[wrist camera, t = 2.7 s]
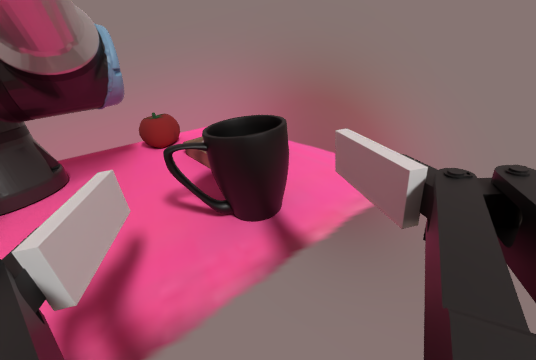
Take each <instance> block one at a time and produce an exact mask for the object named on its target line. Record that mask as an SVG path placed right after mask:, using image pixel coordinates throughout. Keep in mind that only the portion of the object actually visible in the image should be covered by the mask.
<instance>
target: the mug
mask: <svg viewBox="0 0 536 360" xmlns="http://www.w3.org/2000/svg"><path fill="white" fill-rule="evenodd" d="M202 136H203V140H204V142H193V143H183V144H177V145H173V146H170V147H168V148H166V149H165V150H164V152H163V154H164V160H165V163H166V165H167V168H168V170H169V171H170V173H171V174H172V175H173V176H174V177H175V178H176V179H177V180H178V181H179V182H180V183H181V184H183V185H184V186H185V187H186V188H187V189H189V190H190V191H191V192H192V193H193V194H195V195H196V196H197V197H198V198H200V199H201V200H202V201H203V202H204V203H206V204H207V205H208V206H210V207H211V208H212V209H214V210H216V211H217V212H220V213H223V214H230V213H234V215H235V216H236V217H237V218H239V219H241V220H244V221H261V220H265V219H268V218H270V217H272V216H274V215H275V214H276V213H278V211H279V210H280V209H281V206H282V199H283V195H284V191H285V186H286V181H287V174H288V164H289V148H288V135H287V123H286V120H285V119H284V118H282V117H279V116H274V115H252V116H244V117H237V118H232V119H228V120H224V121H220V122H218V123H215V124H212V125H210V126H208V127H207V128H205V129H204V130H203V133H202ZM183 149H197V150H203V151H206V153H207V157H208V161H209V165H210V167H211V170H212V173H213V175H214V178H215V180H216V182H217V184H218V186H219V188H220V190H221V192H222V194H223V196H224V197H225V199H226V200H223V201H220V200H216V199H213V198H211V197H210V196H208V195H207V194H205V193H204V192H203V191H201V190H200V189H199V188H198V187H196V186H195V185H194V184H193V183H192V182H191V181H190V180H189V179H188V178H186V177H185V175H184V174H183V173H182V172H181V171H180V170H179V169H178V167H177V166H176V164H175V162H174V160H173V157H172V154H173V153H174V152H175V151H178V150H183Z"/></svg>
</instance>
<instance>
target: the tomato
mask: <svg viewBox="0 0 536 360" xmlns="http://www.w3.org/2000/svg"><path fill="white" fill-rule="evenodd" d="M139 133H140V136H141V138H142V139H143V141H145V142H146V143H147V144H148V145H150V146H153V147H157V148H164V147H167V146H169V145H171V144H173V143H174V142H175V141H176V140H177V139H178V138H179V133H180V127H179V125H178V123H177V121H176V120H175V119H174V118H173V117H172V116H170V115H168V114H160V115H157V116H156V115H155V113H152V116H151V117H147V118H144V119H143V120H142V121H141V124H140V127H139Z"/></svg>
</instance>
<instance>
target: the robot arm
mask: <svg viewBox="0 0 536 360" xmlns="http://www.w3.org/2000/svg"><path fill="white" fill-rule="evenodd" d="M123 97H124V85H123V79H122V74H121V72H120V66H119V61H118V57H117V54H116V51H115V48H114V44H113V42H112V39H111V37H110V35H109V33H108V31H107V29H106V28H105V27H103V26H101V25H96V24H94V23H93V22H92V20H91V19H90V18H89V16H88V15H87V14H86V13H85V12H84V11H82V10H81V9H80V8H78V7H77V6H75V5H74V4H73V3H72V0H0V215H2V214H5V213H8V212H11V211H14V210H16V209H19V208H22V207H24V206H27V205H29V204H32V203H34V202H36V201H39V200H41V199H43V198H45V197H47V196H49V195H50V194H52V193H54V192H56V191H57V190H59V189H60V188H62V187H63V186H64V185H65V184H66V183H67V182H68V180H69V177H68V176H67V174H66V172H65V170H64V168H63V167H62V165H61V164H60V163H59V162H57V161H56V160H55V159H54V158H53V157H52V156H51V155H50V154H49V153H48V152H47V151H46V150H45V149H44V148H43V147H41V146H40V145H39V144H38V143H37V142H36V141H35V140H34V139H33V137H32V136H31V134H30V132H29V130H28V129H27V127H26V125H25V123H24V121H29V120H34V119H40V118H46V117H51V116H57V115H62V114H68V113H74V112H81V111H86V110H93V109H103V108H105V107H107V106H112V105H116V104H119V103H120V102H121V101H122V100H123ZM335 139H336V140H335V144H336V146H335V147H336V148H335V149H336V172H337V173H338V174H339V175H341V176H342V177H343V178H344V179H345V180H346V181H347V182H349V183H350V184H351V185H352V186H353V187H354V188H356V189H357V190H358V191H359V192H360V193H361V194H362V195H364V196H365V197H366V198H367V199H368V200H369V201H370V202H372V203H373V204H374V205H375V206H376V207H377V208H378V209H380V210H381V211H382V212H383V213H384V214H385V215H386V216H388V217H389V218H390V219H391V220H392V221H393V222H394V223H396V224H397V225H398V226H399V227H400V228H401V229H404V228H409V227H413V226H417V225H418V223H419V216H420V213H421V214H422V215H424V216H425V217H426V218H427V222H426V228H425V233H424V238H423V240H425V241H426V245H425V312H424V317H425V318H424V360H536V334H533V333H531V332H530V331H529V328H528V326H527V323H526V320H525V317H524V314H523V311H522V308H521V305H520V302H519V300H518V297H517V293H516V291H515V288H514V285H513V282H512V279H511V276H510V273H509V270H508V267H507V265H508V266H509V267H510V269H511V270H512V272H513V273H514V274H515V276H516V277H517V278H518V280H519V281H520V282H521V284H522V285H523V286H524V288H525V289H526V290H527V292H528V293H529V295H530V296H531V297H532V299H533V300H534V301H535V303H536V170H534V169H531V168H527V167H526V166H520V165H503V166H498V167H496V168H495V170H494V173H493V177H492V178H477V177H476V176H475V174H473V173H471V172H469V171H466V170H463V169H457V168H444V169H440V170H437V169H435V168H432V167H430V166H428V165H426V164H424V163H421V162H420V161H418V160H414V159H413V158H411V157H409V156H407V155H404V154H399V153H397V152H395V151H393V150H391V149H389V148H387V147H385V146H382V145H380V144H378V143H376V142H374V141H372V140H370V139H368V138H366V137H364V136H362V135H360V134H357V133H355V132H353V131H351V130H349V129H342V130H336V131H335ZM129 213H130V209H129V207H128V205H127V202H126V200H125V198H124V195H123V193H122V191H121V188H120V186H119V183H118V181H117V179H116V176H115V174H114V172H113V170H109V171H103V172H98V173H97V174H96V175H95V176H94V177H93V178H92V179H90V180H89V181H88V182H87V183H86V184H85V185H84V186H83V187H82V188H81V189H80V190H79V191H77V192H76V193H75V194H74V195H73V196H72V197H71V198H70V199H69V200H68V201H67V202H66V203H64V204H63V205H62V206H61V207H60V208H59V209H58V210H57V211H56V212H55V213H54V214H53V215H51V216H50V217H49V218H48V219H47V220H46V221H45V222H44V223H43V224H42V225H41V226H39V227H38V228H36V229H35V230H34V231H33V232H32V233H31V234H30V235H28V236H27V238H25V239H24V240H23V241H22V242H21V243H20V245H18V246H16V247H15V248H14V249H13V250H12V251H11V252H10V253H9V254H8V255H7V256H5V257H4V258H3V259H2V260H1V259H0V360H64V358H63V356H62V353H61V351H60V349H59V347H58V345H57V343H56V341H55V338H54V336H53V334H52V332H51V330H50V328H49V325H48V323H47V321H46V319H45V317H44V315H43V314H42V313H41V311H40V310H39V308H40V307H41V305H42V304H43V302H44V301H45V300H47V302H48V303H49V305H50V306H51V307H52V309H53V310H54V311H55V310H60V309H64V308H68V307H72V306H77V304H78V302H79V300H80V299H81V297H82V295H83V293H84V292H85V290H86V288H87V286H88V285H89V283H90V281H91V279H92V278H93V276H94V274H95V272H96V271H97V269H98V267H99V265H100V264H101V262H102V260H103V259H104V257H105V255H106V253H107V252H108V250H109V248H110V246H111V245H112V243H113V241H114V239H115V238H116V236H117V234H118V232H119V231H120V229H121V227H122V225H123V224H124V222H125V220H126V218H127V217H128V215H129Z"/></svg>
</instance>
